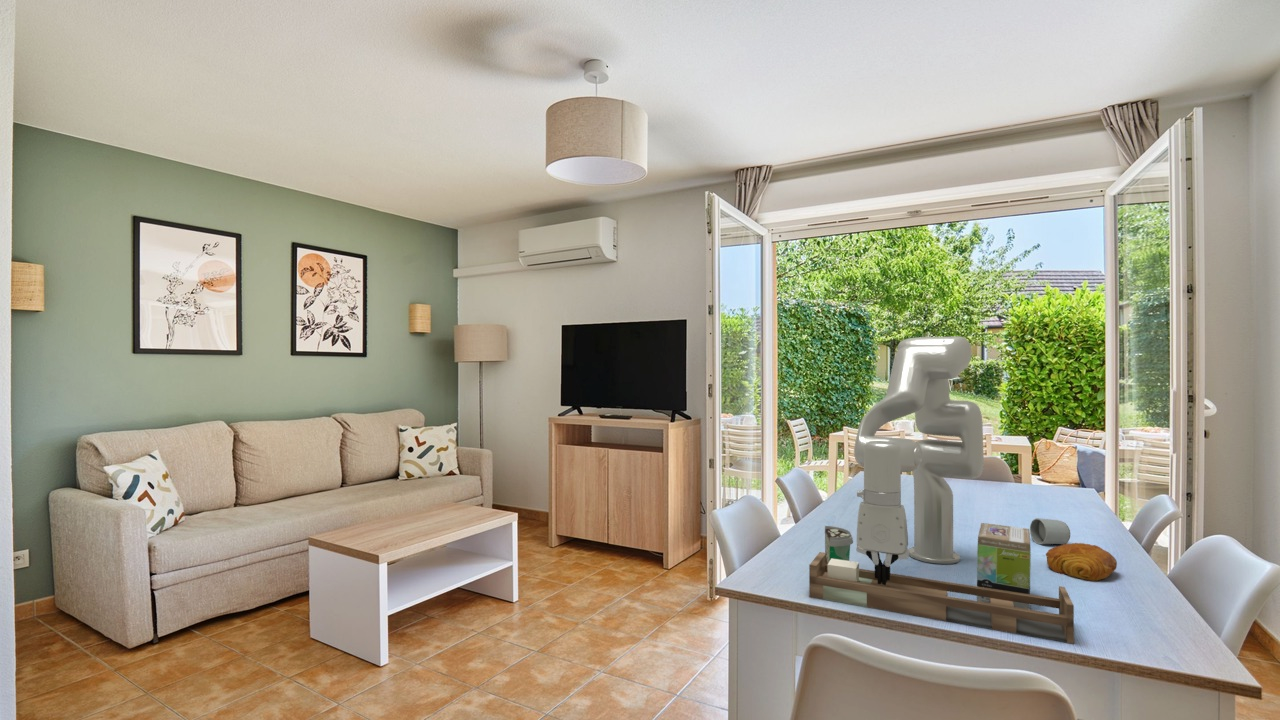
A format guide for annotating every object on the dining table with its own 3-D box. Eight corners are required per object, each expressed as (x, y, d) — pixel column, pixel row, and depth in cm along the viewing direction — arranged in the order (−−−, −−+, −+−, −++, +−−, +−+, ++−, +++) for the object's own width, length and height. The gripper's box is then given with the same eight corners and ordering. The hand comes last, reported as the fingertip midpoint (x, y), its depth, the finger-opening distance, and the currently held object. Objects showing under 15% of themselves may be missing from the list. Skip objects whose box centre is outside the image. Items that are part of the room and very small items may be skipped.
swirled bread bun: (1124, 582, 151) (1126, 549, 152) (1104, 586, 142) (1107, 552, 142) (1057, 565, 162) (1059, 535, 163) (1035, 568, 153) (1037, 537, 154)
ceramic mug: (1073, 547, 173) (1072, 521, 174) (1046, 547, 173) (1045, 521, 173) (1047, 538, 183) (1047, 513, 184) (1022, 538, 183) (1022, 513, 183)
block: (831, 575, 139) (831, 558, 139) (859, 580, 136) (858, 562, 136) (827, 582, 134) (827, 564, 134) (856, 587, 131) (856, 568, 132)
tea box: (1031, 614, 125) (1031, 542, 125) (976, 604, 130) (975, 535, 130) (1030, 592, 138) (1029, 526, 138) (979, 583, 143) (979, 520, 143)
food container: (856, 581, 144) (856, 539, 144) (829, 579, 145) (829, 537, 145) (849, 565, 156) (849, 526, 156) (824, 563, 157) (824, 525, 157)
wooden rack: (819, 581, 143) (819, 552, 144) (1065, 622, 121) (1064, 587, 121) (809, 596, 134) (809, 565, 134) (1073, 643, 111) (1073, 605, 111)
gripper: (843, 497, 132) (843, 581, 132) (918, 505, 125) (918, 594, 125) (849, 491, 139) (849, 572, 139) (921, 498, 132) (921, 583, 131)
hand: (882, 582), depth 132 cm, fingers closed
